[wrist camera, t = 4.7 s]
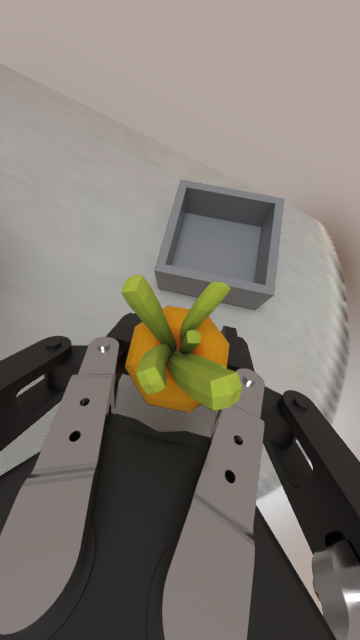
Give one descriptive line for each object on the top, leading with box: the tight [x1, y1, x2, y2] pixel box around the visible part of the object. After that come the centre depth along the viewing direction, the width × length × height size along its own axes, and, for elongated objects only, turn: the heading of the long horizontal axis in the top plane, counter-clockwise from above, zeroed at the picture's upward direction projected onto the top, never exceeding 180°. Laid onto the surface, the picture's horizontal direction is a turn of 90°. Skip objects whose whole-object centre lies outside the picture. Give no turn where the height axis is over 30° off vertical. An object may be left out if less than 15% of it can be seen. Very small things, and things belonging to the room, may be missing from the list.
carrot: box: [121, 275, 242, 413], centre depth 11 cm, size 5×5×15 cm
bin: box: [154, 180, 284, 309], centre depth 20 cm, size 11×11×4 cm
